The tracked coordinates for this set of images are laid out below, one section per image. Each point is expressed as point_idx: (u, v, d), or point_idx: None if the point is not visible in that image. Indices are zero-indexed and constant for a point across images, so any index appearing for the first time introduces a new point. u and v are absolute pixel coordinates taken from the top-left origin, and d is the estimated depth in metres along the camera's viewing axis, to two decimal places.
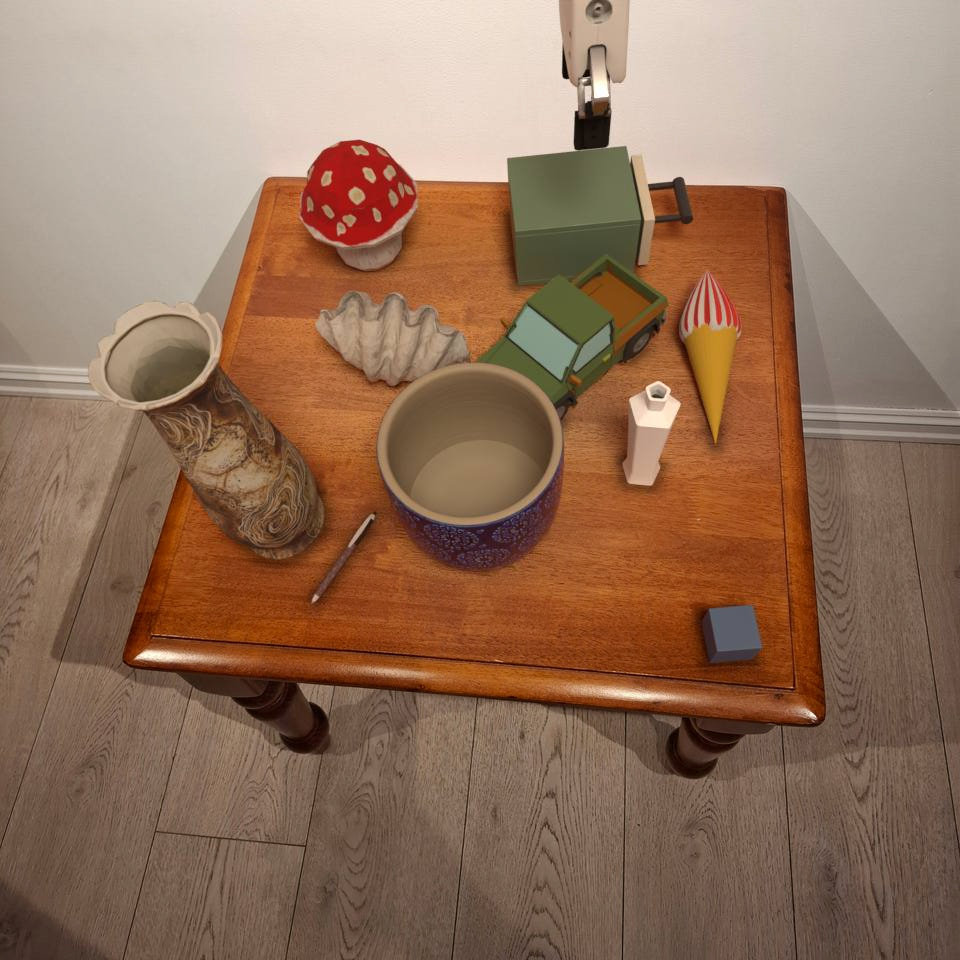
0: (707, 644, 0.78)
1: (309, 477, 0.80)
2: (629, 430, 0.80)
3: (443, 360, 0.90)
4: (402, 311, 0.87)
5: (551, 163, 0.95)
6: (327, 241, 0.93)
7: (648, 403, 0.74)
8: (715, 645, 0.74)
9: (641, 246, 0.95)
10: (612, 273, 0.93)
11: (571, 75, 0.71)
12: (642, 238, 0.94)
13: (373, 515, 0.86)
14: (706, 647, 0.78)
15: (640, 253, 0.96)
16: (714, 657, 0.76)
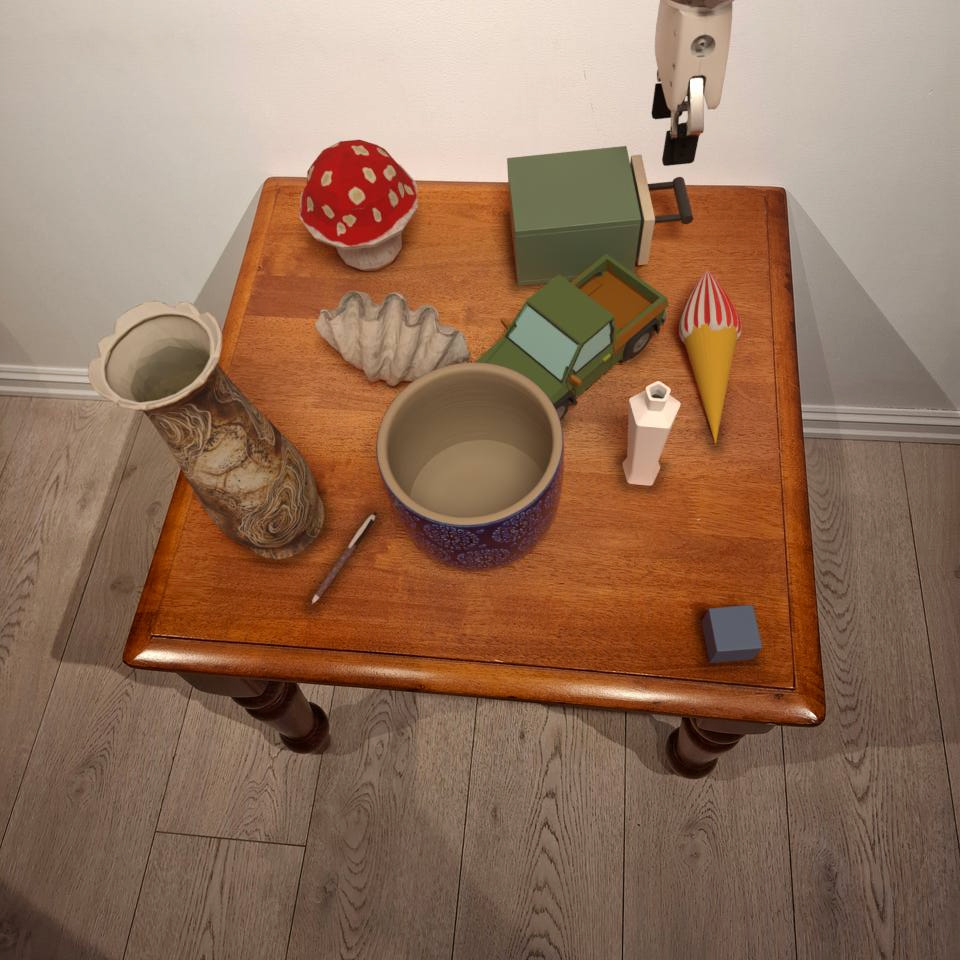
0: (707, 644, 0.78)
1: (309, 477, 0.80)
2: (629, 430, 0.80)
3: (443, 360, 0.90)
4: (402, 311, 0.87)
5: (551, 163, 0.95)
6: (327, 241, 0.93)
7: (648, 403, 0.74)
8: (715, 645, 0.74)
9: (641, 246, 0.95)
10: (612, 273, 0.93)
11: (671, 102, 0.78)
12: (642, 238, 0.94)
13: (373, 515, 0.86)
14: (706, 647, 0.78)
15: (640, 253, 0.96)
16: (714, 657, 0.76)
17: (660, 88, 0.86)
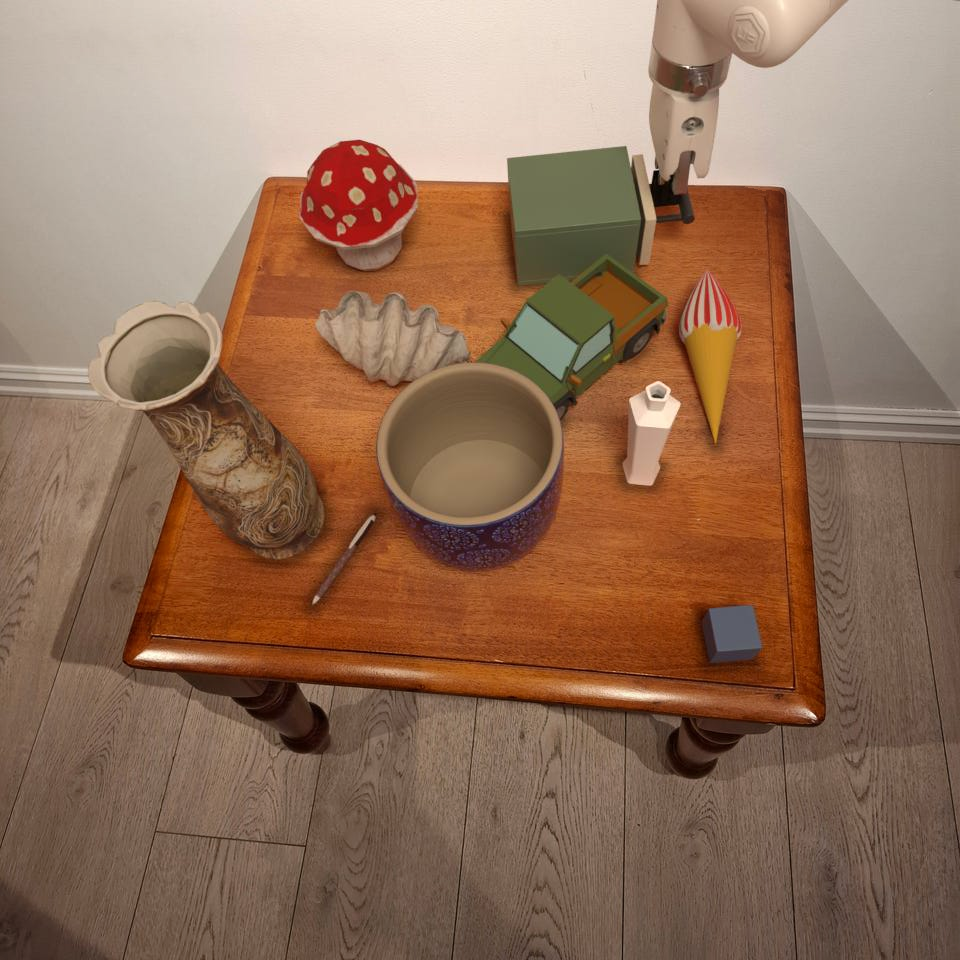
0: (707, 644, 0.78)
1: (309, 477, 0.80)
2: (629, 430, 0.80)
3: (443, 360, 0.90)
4: (402, 311, 0.87)
5: (551, 163, 0.95)
6: (327, 241, 0.93)
7: (648, 403, 0.74)
8: (715, 645, 0.74)
9: (642, 246, 0.95)
10: (612, 273, 0.93)
11: (663, 172, 0.86)
12: (643, 238, 0.94)
13: (373, 516, 0.86)
14: (706, 647, 0.78)
15: (641, 253, 0.96)
16: (714, 657, 0.76)
17: (658, 175, 0.92)
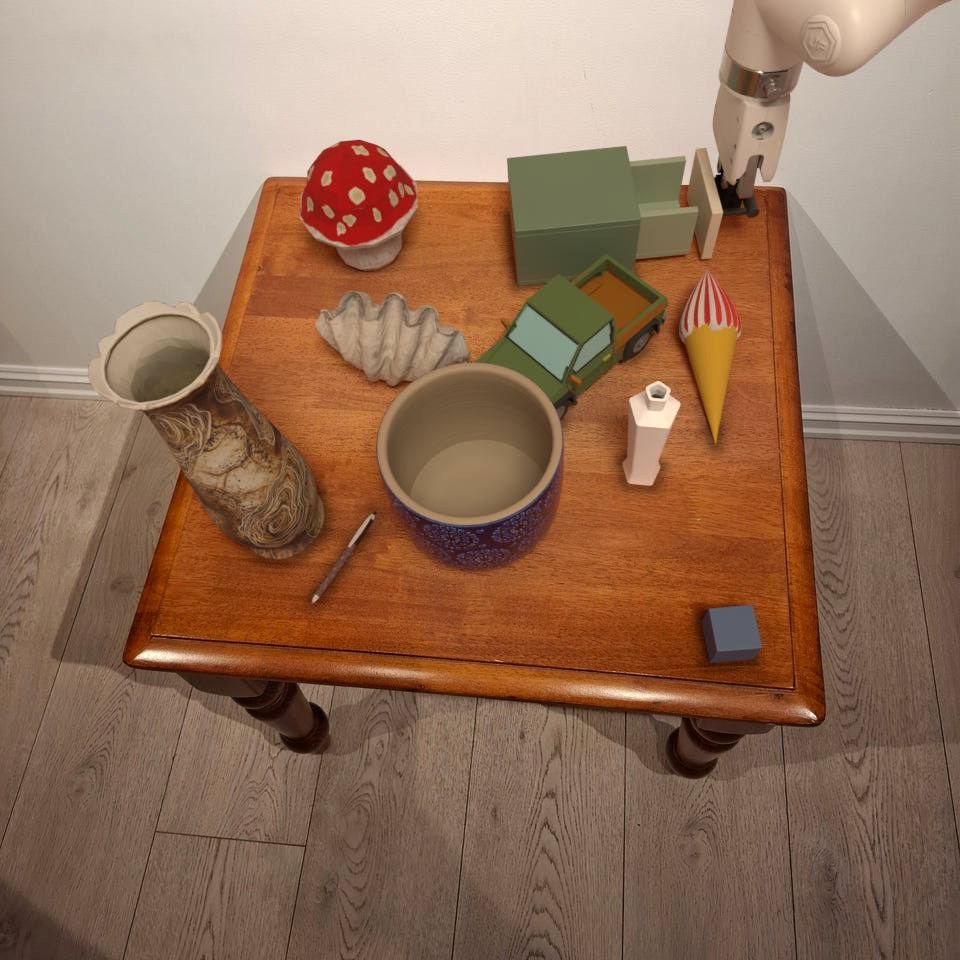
0: (707, 644, 0.78)
1: (309, 477, 0.80)
2: (629, 430, 0.80)
3: (443, 360, 0.90)
4: (402, 311, 0.87)
5: (551, 163, 0.95)
6: (327, 241, 0.93)
7: (648, 403, 0.74)
8: (715, 645, 0.74)
9: (706, 240, 0.95)
10: (612, 273, 0.93)
11: (730, 176, 0.87)
12: (708, 231, 0.94)
13: (373, 515, 0.86)
14: (706, 647, 0.78)
15: (705, 247, 0.96)
16: (714, 657, 0.76)
17: (720, 179, 0.93)
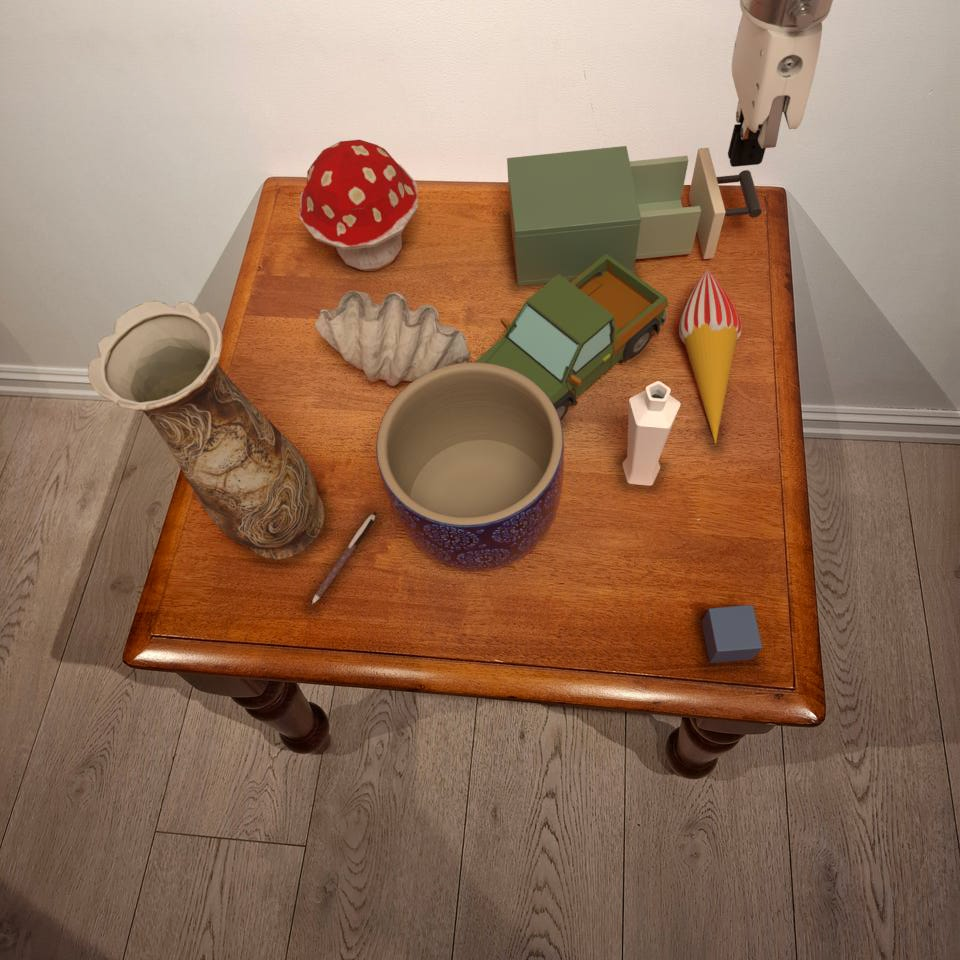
0: (707, 644, 0.78)
1: (309, 477, 0.80)
2: (629, 430, 0.80)
3: (443, 360, 0.90)
4: (402, 311, 0.87)
5: (551, 163, 0.95)
6: (327, 241, 0.93)
7: (648, 403, 0.74)
8: (715, 645, 0.74)
9: (709, 239, 0.95)
10: (612, 273, 0.93)
11: (751, 122, 0.77)
12: (711, 231, 0.93)
13: (373, 515, 0.86)
14: (706, 647, 0.78)
15: (707, 246, 0.96)
16: (714, 657, 0.76)
17: (739, 129, 0.84)
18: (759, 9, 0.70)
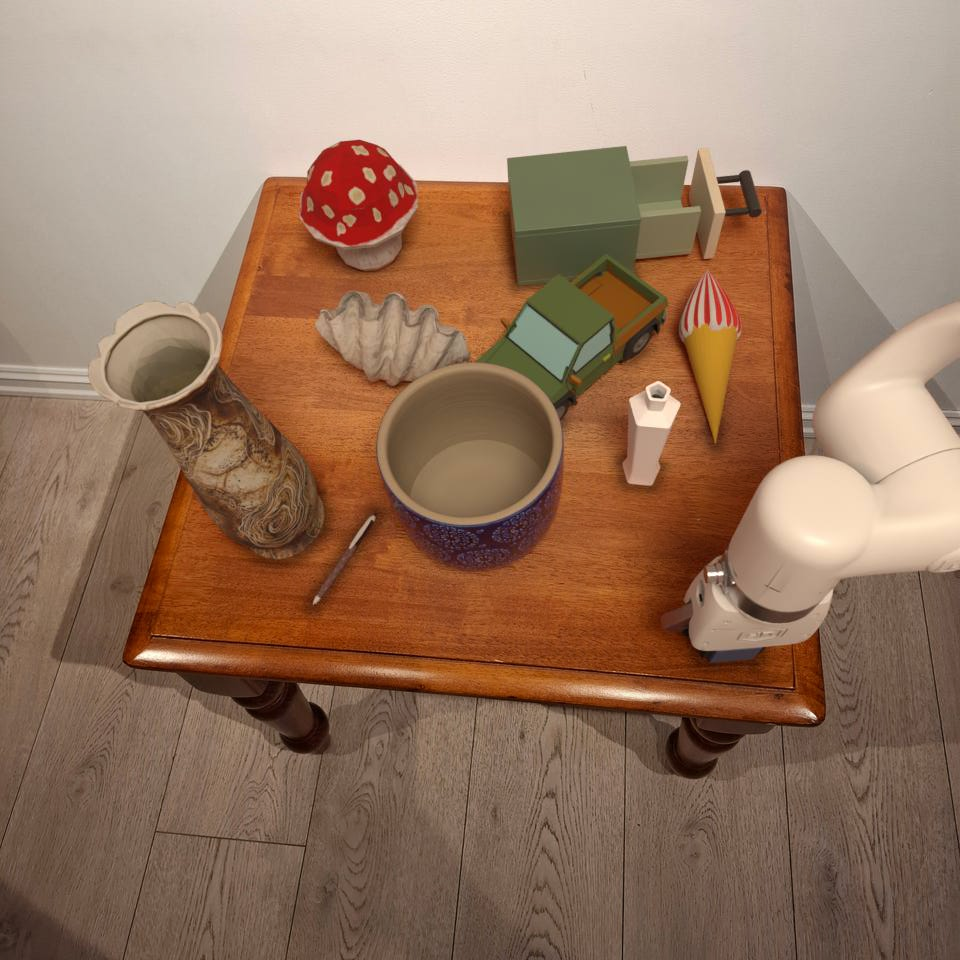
0: None
1: (309, 477, 0.80)
2: (629, 430, 0.80)
3: (443, 360, 0.90)
4: (402, 311, 0.87)
5: (551, 163, 0.95)
6: (327, 241, 0.93)
7: (648, 403, 0.74)
8: None
9: (709, 239, 0.95)
10: (612, 273, 0.93)
11: None
12: (711, 231, 0.93)
13: (374, 516, 0.86)
14: None
15: (707, 246, 0.96)
16: (714, 657, 0.76)
17: None
18: None
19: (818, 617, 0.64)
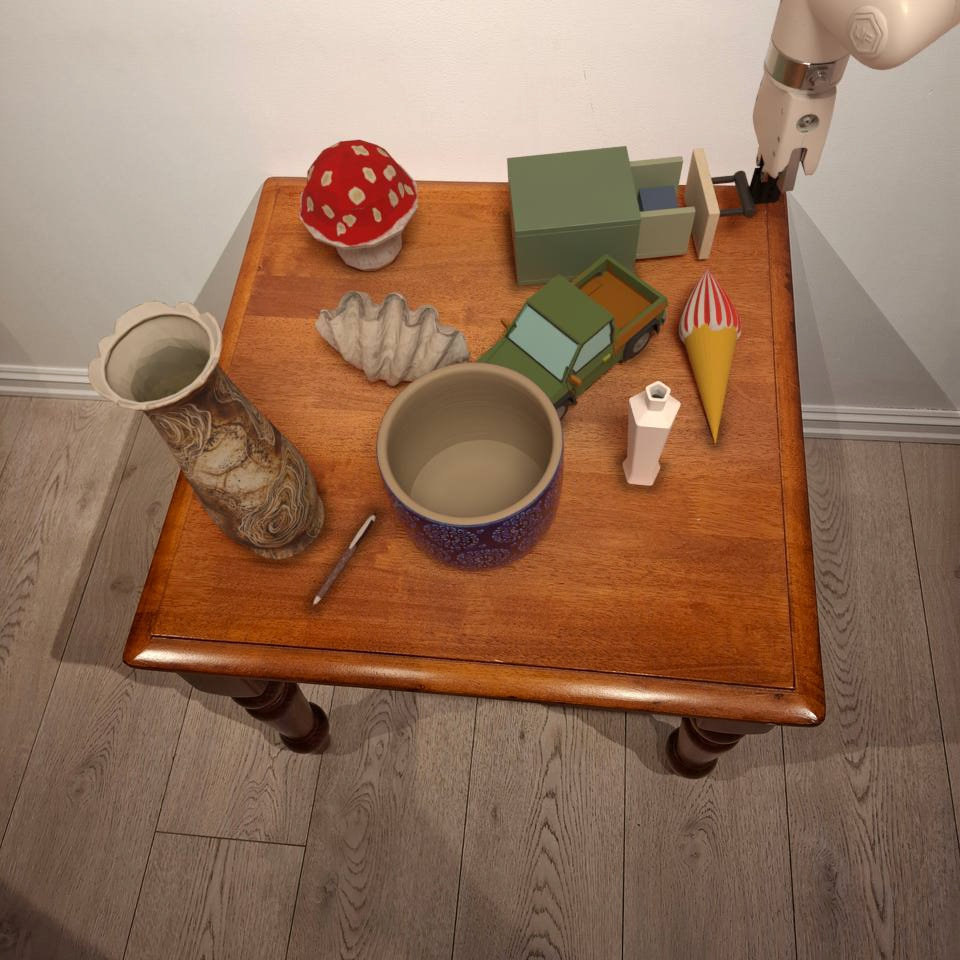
0: None
1: (309, 477, 0.80)
2: (629, 430, 0.80)
3: (443, 360, 0.90)
4: (402, 311, 0.87)
5: (551, 163, 0.95)
6: (327, 241, 0.93)
7: (648, 403, 0.74)
8: (643, 211, 0.95)
9: (703, 240, 0.95)
10: (612, 273, 0.93)
11: (772, 169, 0.87)
12: (705, 232, 0.94)
13: (373, 516, 0.86)
14: None
15: (702, 247, 0.96)
16: None
17: (759, 172, 0.93)
18: (781, 75, 0.79)
19: None
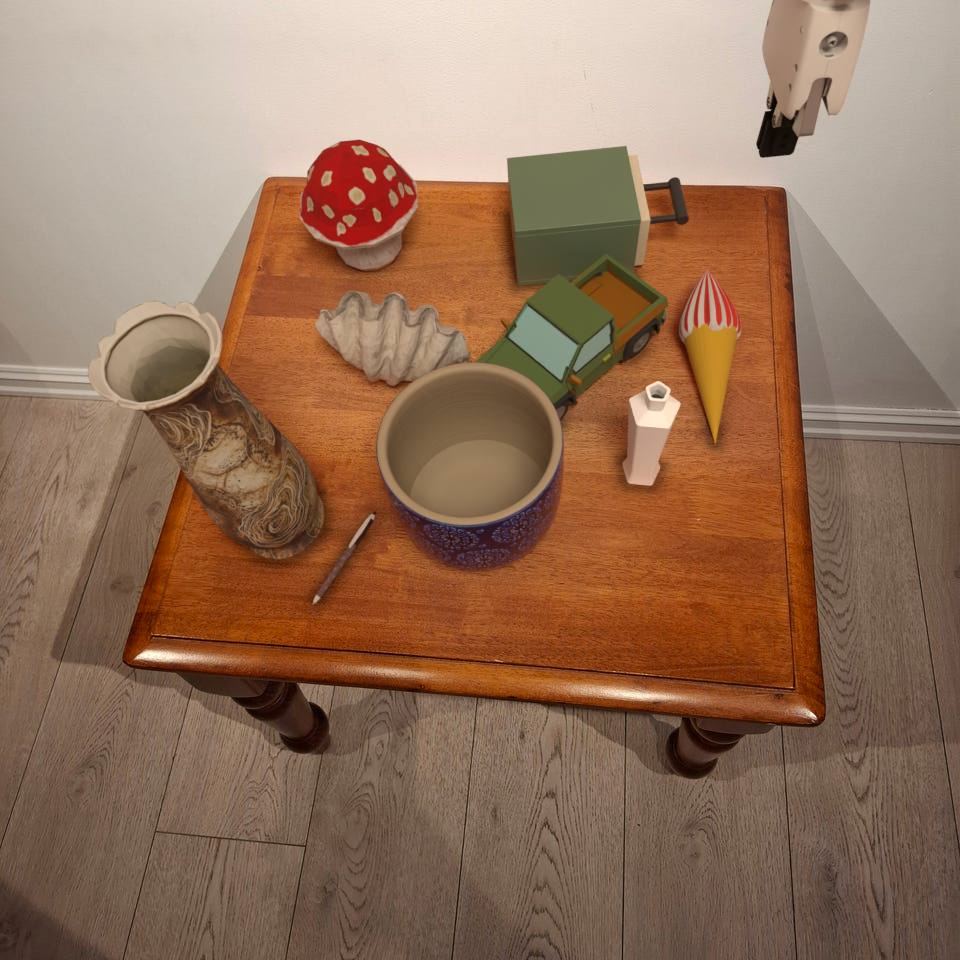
0: None
1: (309, 477, 0.80)
2: (629, 430, 0.80)
3: (443, 360, 0.90)
4: (402, 311, 0.87)
5: (551, 163, 0.95)
6: (327, 241, 0.93)
7: (648, 403, 0.74)
8: None
9: (637, 246, 0.95)
10: (612, 273, 0.93)
11: (787, 107, 0.70)
12: (638, 238, 0.94)
13: (373, 515, 0.86)
14: None
15: (636, 253, 0.96)
16: None
17: (771, 116, 0.76)
18: None
19: None
